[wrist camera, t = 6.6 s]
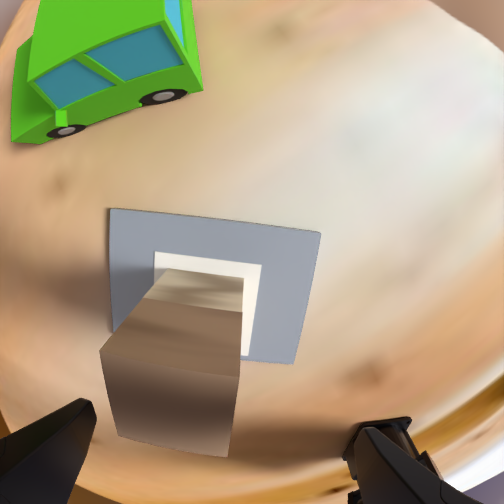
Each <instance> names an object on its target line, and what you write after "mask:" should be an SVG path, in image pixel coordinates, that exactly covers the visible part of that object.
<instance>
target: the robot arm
mask: <svg viewBox="0 0 504 504" xmlns="http://www.w3.org/2000/svg"><path fill="white" fill-rule="evenodd" d="M96 422H97V417H96V413H95V410H94V407H93V404H92V402H91V401H90V400H87V399H84V398H79V399H77V400H75V401H73V402H71V403H69V404H67V405H66V406H64V407H62V408H60V409H58V410H56V411H54V412H53V413H51V414H49V415H47V416H45V417H43V418H41V419H39V420H37V421H35V422H33V423H31V424H30V425H28V426H26V427H24V428H22V429H20V430H18V431H16V432H14V433H12V434H10V435H8V436H7V437H3V438H1V439H0V504H67V502H68V499H69V497H70V494H71V492H72V489H73V487H74V484H75V482H76V479H77V477H78V474H79V472H80V470H81V467H82V465H83V463H84V460H85V458H86V455H87V452H88V448H89V445H90V442H91V438H92V435H93V432H94V428H95V425H96ZM411 422H412V419H411V417H406V418H400V419H393V420H386V421H378V422H369V423H363V424H362V425H360V427H359V429H358V430H357V432H356V434H355V436H354V437H353V439H352V441H351V442H350V444H349V446H348V448H347V449H346V451H345V453H344V454H343V456H342V459H343V460H344V461H347V464H348V467H349V470H350V473H351V477H352V479H353V480H357V483H358V486H359V489H358V490H356V491H354V492H353V491H352V492H350V493H348V504H483V503H481V502H479V501H477V500H475V499H473V498H471V497H469V496H467V495H465V494H463V493H462V492H460V491H458V490H457V489H455V488H454V487H452V486H451V485H449V484H448V483H446V482H445V481H444V480H443V478H442V476H441V474H440V472H439V470H438V468H437V466H436V465H435V463H434V461H433V460H432V458H431V457H430V456H429V454H428V453H427V452H426V450H425V451H424V452H422V453H421V455H420V454H419V453H418V451H417V449H416V447H415V445H414V443H413V441H412V439H411V438H410V436H409V434H408V432H407V428H408V427H409V425H410V424H411Z"/></svg>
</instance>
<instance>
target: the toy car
mask: <svg viewBox="0 0 504 504" xmlns="http://www.w3.org/2000/svg"><path fill="white" fill-rule="evenodd" d="M200 91H203V84H202V77H201V70H200V63H199V56H198V49H197V41H196V34H195V26H194V18H193V10H192V2H191V0H41V1H40V5H39V9H38V13H37V18H36V22H35V27H34V32H33V35H32V36H31V37H30V38H29V39H28V40H27V41H26V42H25V43H24V44H22V45H21V46H20V47H19V48H18V49H17V54H16V61H15V68H14V77H13V88H12V104H11V142H21V143H34V144H42V143H45V142H47V141H49V140H51V139H53V138H60V137H65V136H70V135H73V134H75V133H78V132H80V131H82V130H84V129H85V127H86V126H87V125H90V124H93V123H95V122H98V121H101V120H103V119H106V118H109V117H112V116H114V115H117V114H120V113H123V112H126V111H129V110H132V109H135V108H138V107H142V103H145V104H162V103H166V102H170V101H174V100H177V99H180V98H181V97H183V96H184V95H186V94H187V92H188V94H191V93H195V92H200Z"/></svg>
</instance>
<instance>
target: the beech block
mask: <svg viewBox="0 0 504 504" xmlns="http://www.w3.org/2000/svg"><path fill="white" fill-rule="evenodd" d="M243 288H244V278H240V277H232V276H224V275H216V274H208V273H201V272H193V271H186V270H178V269H171V268H168V269H167V270H166V272H165V273H164V274H163V275H162V276H161V277H160V278H159V279H158V281H157V282H156V283H155V284H154V285H153V286H152V287H151V289H150V290H149V291H148V292H147V293H146V294H145V295H144V297H143V298H149V299H155V300H160V301H167V302H173V303H179V304H186V305H192V306H199V307H206V308H213V309H221V310H229V311H236V312H242V305H243Z"/></svg>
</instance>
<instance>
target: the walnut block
mask: <svg viewBox="0 0 504 504" xmlns="http://www.w3.org/2000/svg"><path fill="white" fill-rule="evenodd" d="M242 316H243V312H236V311H229V310H221V309H213V308H206V307H199V306H192V305H186V304H179V303H173V302H167V301H160V300H155V299H149V298H142V300H141V301H140V302H139V303H138V304H137V306H136V307H135V308H134V309H133V310H132V311H131V313H130V314H129V315H128V316H127V317H126V319H125V320H124V321H123V322H122V323H121V325H120V326H119V327H118V328H117V329H116V331H115V332H114V333H113V334H112V336H111V337H110V338H109V339H108V341H107V342H106V343H105V344H104V346H103V347H102V348H101V349H100V351H99V352H100V358H101V364H102V369H103V374H104V379H105V384H106V389H107V394H108V398H109V402H110V406H111V410H112V414H113V418H114V422H115V426H116V429H117V433H118V436H121V437H125V438H128V439H132V440H135V441H139V442H143V443H147V444H151V445H155V446H160V447H164V448H169V449H174V450H179V451H185V452H191V453H197V454H203V455H211V456H219V457H228V450H229V444H230V437H231V430H232V424H233V417H234V410H235V404H236V397H237V390H238V384H239V376H240V356H241V336H242Z"/></svg>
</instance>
